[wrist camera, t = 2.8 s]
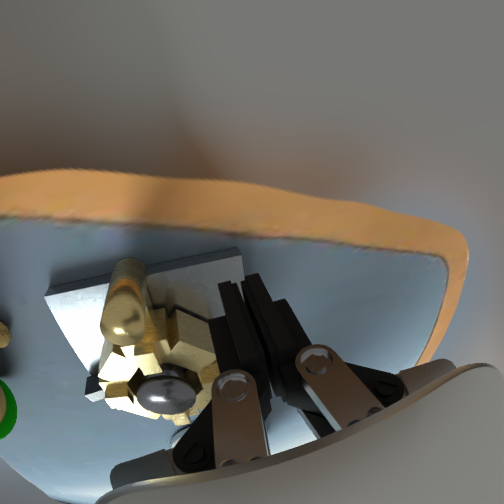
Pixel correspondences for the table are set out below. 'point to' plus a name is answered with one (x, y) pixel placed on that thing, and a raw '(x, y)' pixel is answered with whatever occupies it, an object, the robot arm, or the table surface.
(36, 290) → the table surface
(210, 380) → the ring nut
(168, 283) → the base plate
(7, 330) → the toy
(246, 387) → the robot arm
